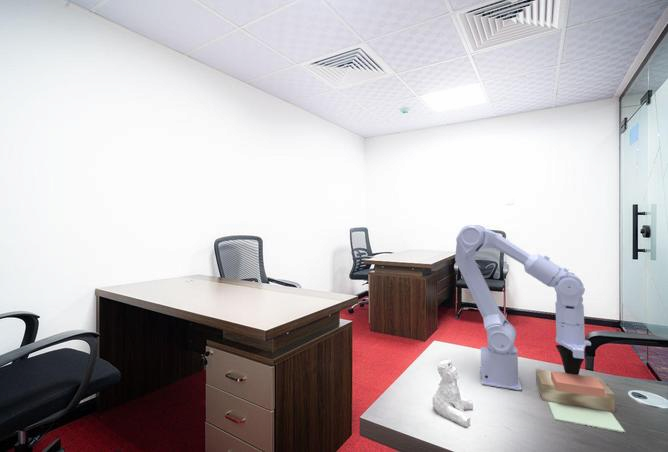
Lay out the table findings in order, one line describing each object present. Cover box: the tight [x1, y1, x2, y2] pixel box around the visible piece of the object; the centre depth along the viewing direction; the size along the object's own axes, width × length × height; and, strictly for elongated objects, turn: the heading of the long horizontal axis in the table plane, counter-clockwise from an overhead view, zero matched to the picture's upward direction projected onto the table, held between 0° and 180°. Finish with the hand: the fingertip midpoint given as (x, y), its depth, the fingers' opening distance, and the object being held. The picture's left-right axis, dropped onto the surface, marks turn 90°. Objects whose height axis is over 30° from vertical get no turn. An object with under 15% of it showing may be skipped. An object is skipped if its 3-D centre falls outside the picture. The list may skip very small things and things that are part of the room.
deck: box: [535, 368, 616, 413], centre depth 80 cm, size 14×9×4 cm, turn 66°
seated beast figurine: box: [431, 359, 474, 428], centre depth 74 cm, size 10×9×12 cm
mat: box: [547, 401, 626, 434], centre depth 72 cm, size 12×8×1 cm, turn 66°
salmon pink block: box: [550, 370, 605, 398], centre depth 76 cm, size 9×6×2 cm, turn 66°
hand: (571, 377), depth 80 cm, fingers closed
